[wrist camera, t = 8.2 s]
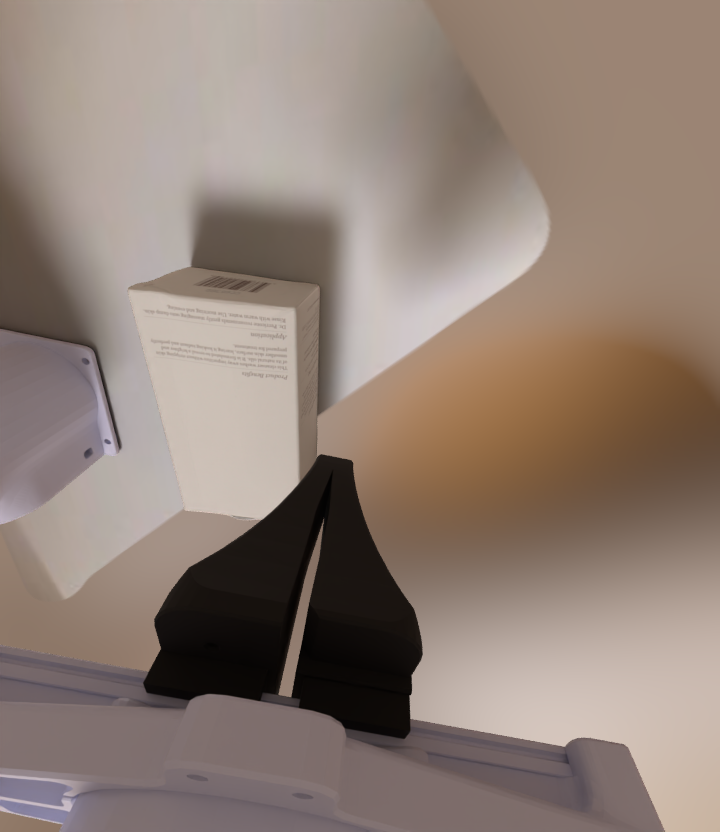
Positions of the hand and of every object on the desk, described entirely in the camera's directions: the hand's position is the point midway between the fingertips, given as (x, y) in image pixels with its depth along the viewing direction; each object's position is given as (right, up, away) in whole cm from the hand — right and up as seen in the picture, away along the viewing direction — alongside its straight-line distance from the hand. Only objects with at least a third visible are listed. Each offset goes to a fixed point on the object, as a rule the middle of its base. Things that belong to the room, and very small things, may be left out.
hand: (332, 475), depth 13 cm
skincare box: (-5, +9, +4) cm, 11 cm away
